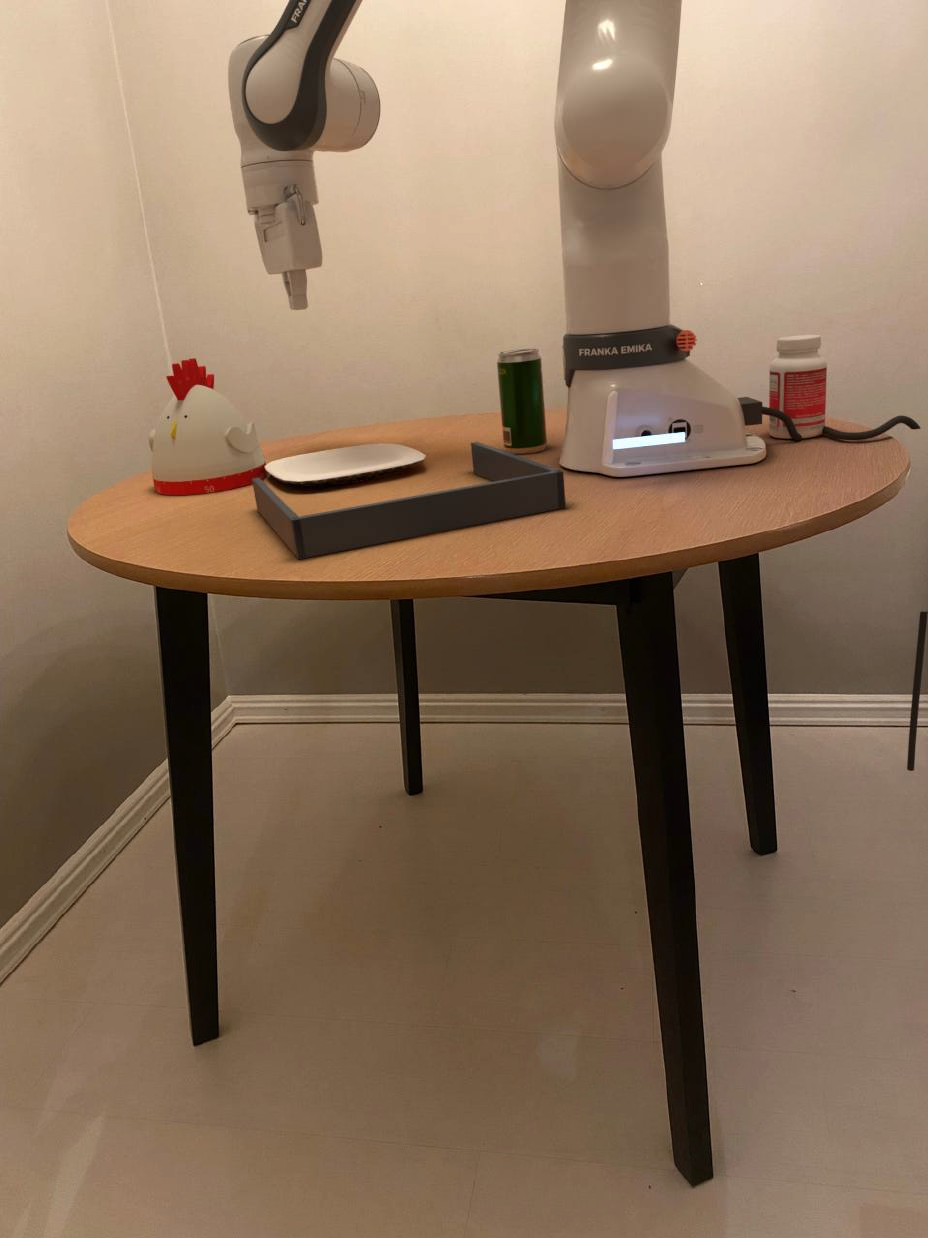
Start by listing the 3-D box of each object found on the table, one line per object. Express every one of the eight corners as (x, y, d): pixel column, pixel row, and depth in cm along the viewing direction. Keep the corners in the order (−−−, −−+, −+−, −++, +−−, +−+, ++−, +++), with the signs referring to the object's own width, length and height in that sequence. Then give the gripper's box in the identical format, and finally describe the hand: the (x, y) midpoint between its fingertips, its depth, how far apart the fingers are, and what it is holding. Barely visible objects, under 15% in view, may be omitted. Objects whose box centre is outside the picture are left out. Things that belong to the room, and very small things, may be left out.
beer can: (521, 456, 114) (513, 354, 110) (495, 451, 118) (487, 353, 114) (556, 448, 116) (549, 348, 112) (529, 444, 121) (522, 348, 117)
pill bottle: (835, 432, 109) (839, 333, 105) (803, 441, 106) (805, 340, 102) (790, 428, 114) (792, 333, 110) (757, 437, 110) (758, 340, 107)
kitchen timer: (131, 495, 114) (103, 369, 109) (198, 470, 126) (175, 356, 121) (227, 494, 110) (203, 362, 104) (287, 468, 121) (268, 349, 116)
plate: (257, 474, 120) (255, 461, 119) (391, 451, 126) (389, 438, 125) (290, 498, 104) (288, 483, 103) (441, 471, 110) (439, 457, 109)
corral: (257, 511, 100) (251, 478, 99) (479, 472, 107) (477, 441, 106) (298, 559, 80) (291, 519, 79) (565, 507, 88) (563, 470, 87)
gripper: (325, 179, 107) (342, 306, 112) (290, 198, 125) (307, 307, 130) (270, 183, 105) (290, 312, 110) (243, 201, 123) (261, 312, 128)
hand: (299, 309), depth 120 cm, fingers closed
